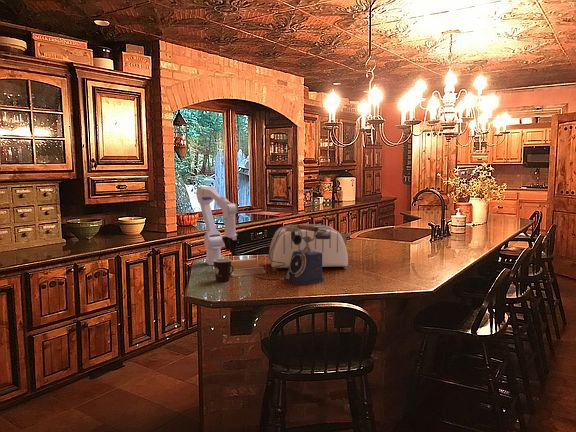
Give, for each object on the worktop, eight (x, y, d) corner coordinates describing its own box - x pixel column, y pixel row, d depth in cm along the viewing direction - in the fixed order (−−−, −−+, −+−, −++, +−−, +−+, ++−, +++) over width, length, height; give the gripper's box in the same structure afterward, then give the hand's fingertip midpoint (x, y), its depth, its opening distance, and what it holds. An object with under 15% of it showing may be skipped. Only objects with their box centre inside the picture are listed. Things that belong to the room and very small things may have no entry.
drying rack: (222, 269, 253) (221, 263, 253) (253, 266, 261) (253, 260, 261) (232, 276, 238) (232, 270, 238) (265, 273, 246) (265, 267, 246)
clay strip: (230, 270, 248) (230, 260, 247) (255, 267, 254) (255, 258, 253) (231, 271, 245) (231, 261, 245) (257, 268, 252) (257, 259, 251)
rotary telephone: (248, 275, 242) (248, 222, 239) (282, 269, 256) (282, 219, 253) (299, 293, 210) (300, 232, 207) (335, 285, 224) (336, 227, 221)
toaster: (355, 269, 255) (355, 228, 252) (271, 271, 250) (271, 229, 247) (345, 261, 276) (346, 222, 273) (268, 263, 271) (268, 224, 268)
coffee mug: (212, 279, 233) (211, 259, 232) (229, 277, 236) (229, 257, 235) (217, 285, 222) (216, 264, 221) (235, 283, 225) (234, 262, 224)
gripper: (241, 227, 249) (242, 253, 250) (232, 224, 262) (232, 248, 263) (229, 228, 246) (229, 254, 247) (220, 225, 258) (220, 249, 260)
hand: (230, 251), depth 255 cm, fingers open, 7 cm apart
